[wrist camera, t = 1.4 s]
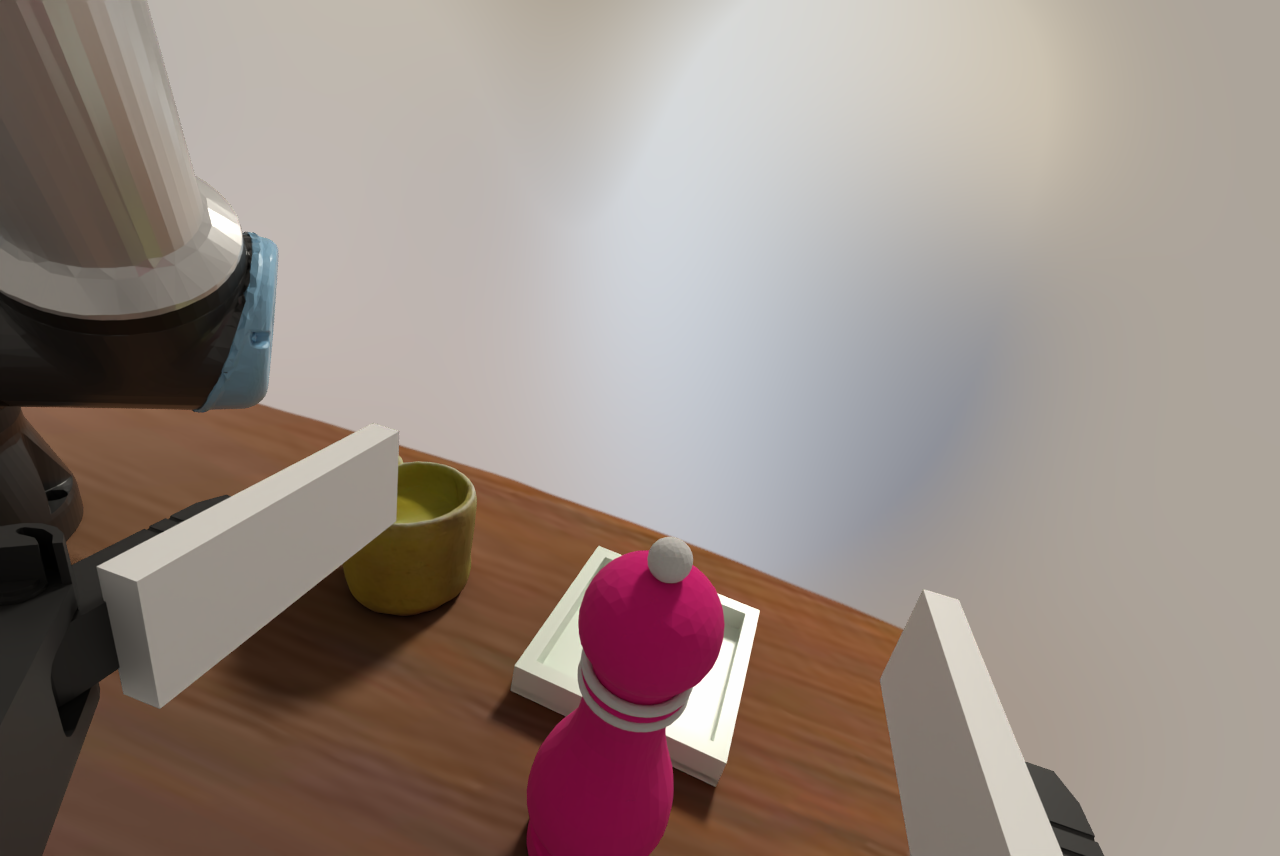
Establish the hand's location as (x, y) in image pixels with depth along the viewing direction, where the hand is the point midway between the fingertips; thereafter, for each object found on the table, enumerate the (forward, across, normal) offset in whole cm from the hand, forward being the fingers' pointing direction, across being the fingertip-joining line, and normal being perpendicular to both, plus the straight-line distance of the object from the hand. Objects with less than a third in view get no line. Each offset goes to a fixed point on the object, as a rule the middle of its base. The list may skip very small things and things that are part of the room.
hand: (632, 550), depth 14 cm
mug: (+22, -20, -23) cm, 37 cm away
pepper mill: (+8, 0, -24) cm, 26 cm away
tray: (+21, 0, -24) cm, 32 cm away
